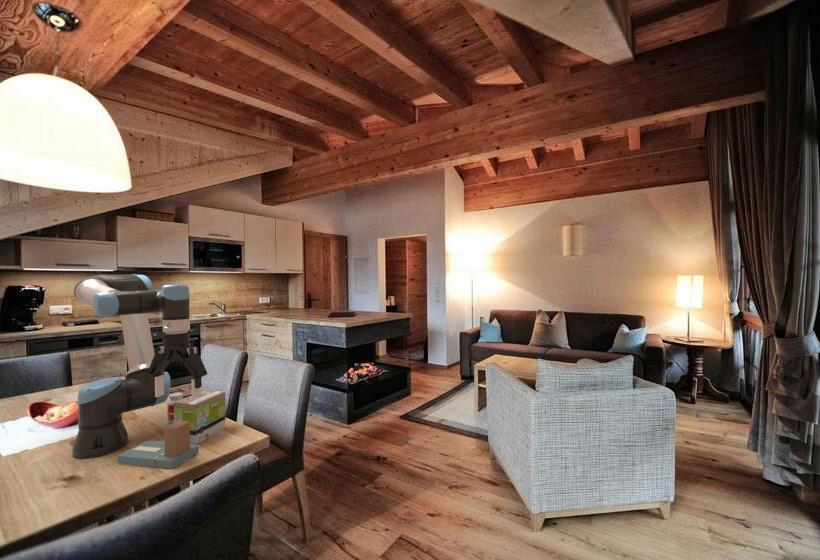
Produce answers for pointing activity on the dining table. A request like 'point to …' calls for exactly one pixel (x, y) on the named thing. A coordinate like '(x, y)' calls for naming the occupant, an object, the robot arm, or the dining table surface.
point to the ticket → (143, 454)
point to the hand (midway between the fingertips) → (177, 397)
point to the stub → (176, 445)
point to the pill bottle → (173, 398)
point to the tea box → (202, 414)
